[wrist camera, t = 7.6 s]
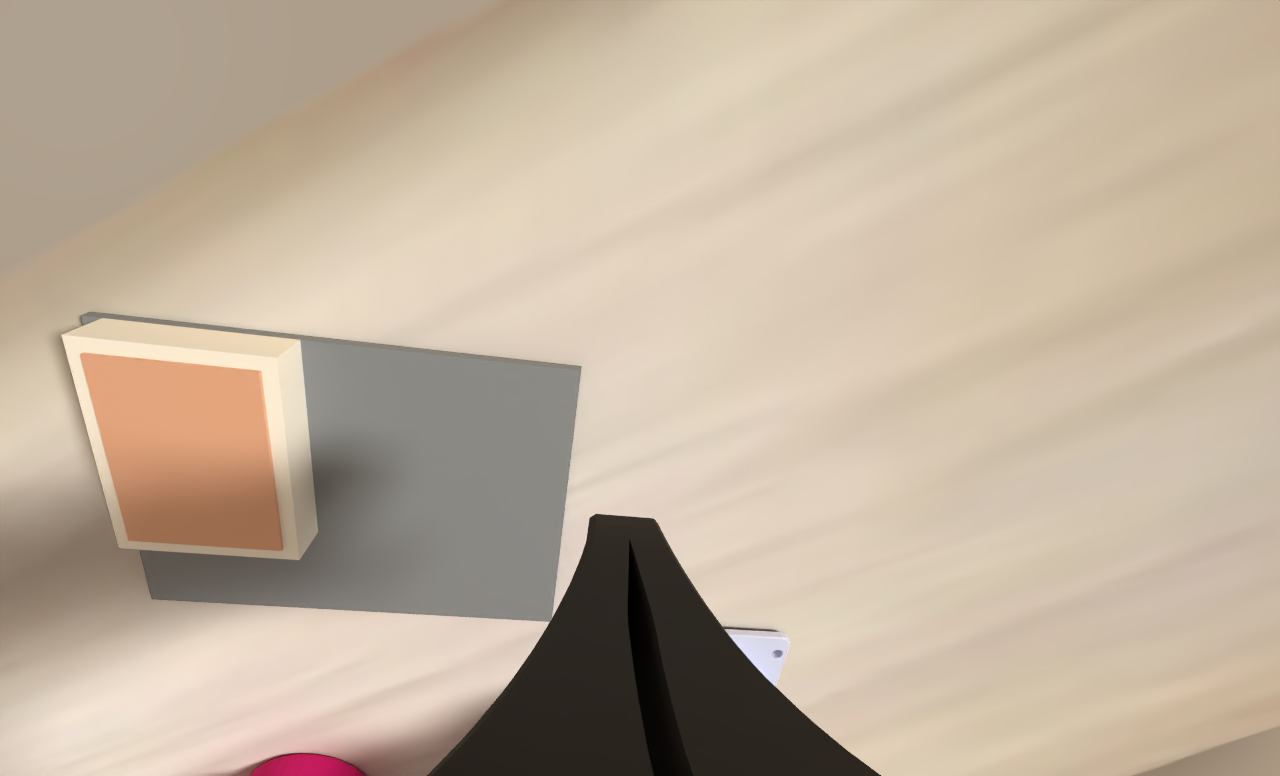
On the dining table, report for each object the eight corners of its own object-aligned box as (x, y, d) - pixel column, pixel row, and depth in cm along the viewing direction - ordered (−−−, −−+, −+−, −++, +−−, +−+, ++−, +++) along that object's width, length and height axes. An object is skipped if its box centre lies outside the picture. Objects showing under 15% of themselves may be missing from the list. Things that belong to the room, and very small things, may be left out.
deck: (297, 563, 21) (115, 551, 21) (317, 531, 23) (150, 520, 22) (274, 359, 18) (56, 336, 17) (300, 339, 20) (102, 317, 19)
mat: (551, 614, 26) (551, 621, 26) (158, 591, 24) (151, 599, 24) (581, 366, 21) (580, 370, 21) (90, 311, 19) (80, 315, 19)
